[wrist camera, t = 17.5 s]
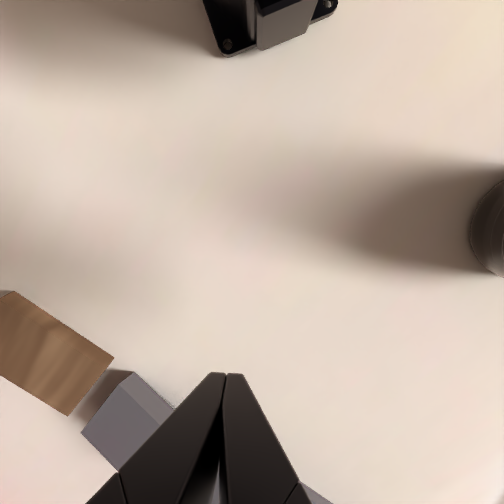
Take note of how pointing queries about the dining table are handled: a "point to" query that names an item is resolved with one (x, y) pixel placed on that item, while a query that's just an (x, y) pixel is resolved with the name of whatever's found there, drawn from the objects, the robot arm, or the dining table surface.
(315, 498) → the domino
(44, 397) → the domino
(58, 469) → the dining table surface
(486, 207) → the supplement bottle
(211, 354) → the dining table surface
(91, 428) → the domino
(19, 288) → the dining table surface
